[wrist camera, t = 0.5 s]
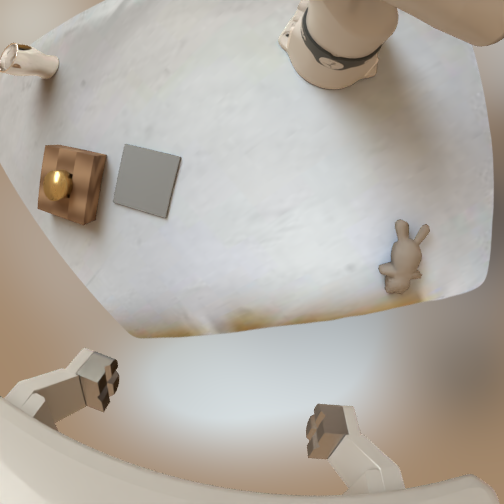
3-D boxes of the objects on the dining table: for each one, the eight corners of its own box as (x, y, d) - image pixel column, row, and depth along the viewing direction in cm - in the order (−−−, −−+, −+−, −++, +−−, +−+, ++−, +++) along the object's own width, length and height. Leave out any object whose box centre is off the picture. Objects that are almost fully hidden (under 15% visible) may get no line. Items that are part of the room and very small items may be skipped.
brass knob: (68, 165, 54) (45, 168, 46) (88, 170, 54) (65, 173, 46) (64, 191, 56) (41, 197, 48) (83, 197, 56) (61, 204, 48)
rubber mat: (126, 144, 52) (124, 144, 51) (180, 157, 52) (180, 157, 52) (114, 201, 56) (113, 202, 55) (166, 217, 56) (165, 218, 56)
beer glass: (62, 69, 46) (19, 58, 32) (42, 86, 48) (-1, 80, 33) (58, 48, 45) (17, 35, 30) (38, 65, 46) (-3, 56, 32)
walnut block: (58, 144, 52) (45, 145, 48) (106, 155, 53) (94, 155, 48) (50, 204, 57) (37, 208, 52) (95, 219, 57) (83, 225, 53)
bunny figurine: (376, 295, 54) (398, 223, 48) (370, 282, 59) (389, 214, 52) (416, 299, 54) (440, 231, 47) (408, 286, 58) (428, 221, 52)
